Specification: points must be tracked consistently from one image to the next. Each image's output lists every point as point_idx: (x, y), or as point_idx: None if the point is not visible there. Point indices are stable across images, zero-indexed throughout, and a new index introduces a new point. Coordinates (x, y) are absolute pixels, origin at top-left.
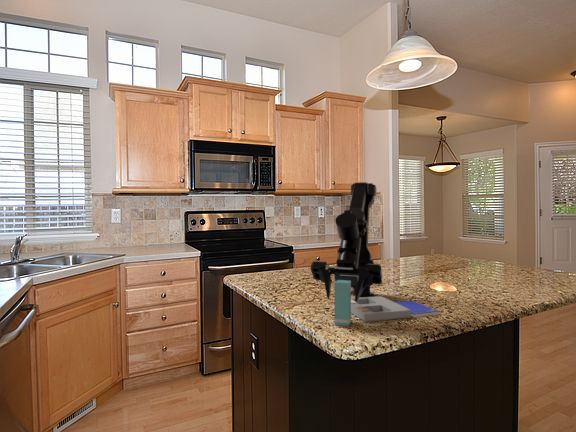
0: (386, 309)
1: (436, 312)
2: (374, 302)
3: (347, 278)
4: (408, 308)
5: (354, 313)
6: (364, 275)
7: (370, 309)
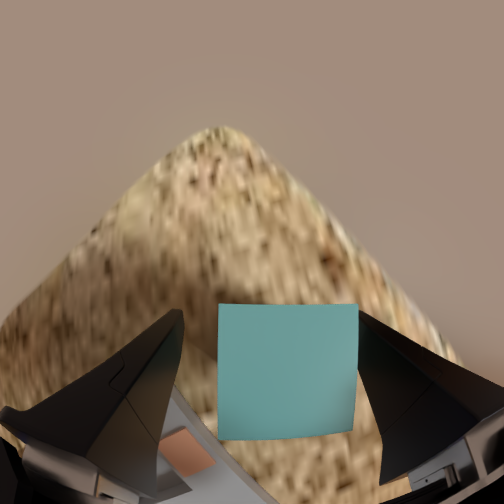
0: None
1: None
2: None
3: None
4: None
5: (227, 454)
6: (52, 405)
7: (170, 492)
